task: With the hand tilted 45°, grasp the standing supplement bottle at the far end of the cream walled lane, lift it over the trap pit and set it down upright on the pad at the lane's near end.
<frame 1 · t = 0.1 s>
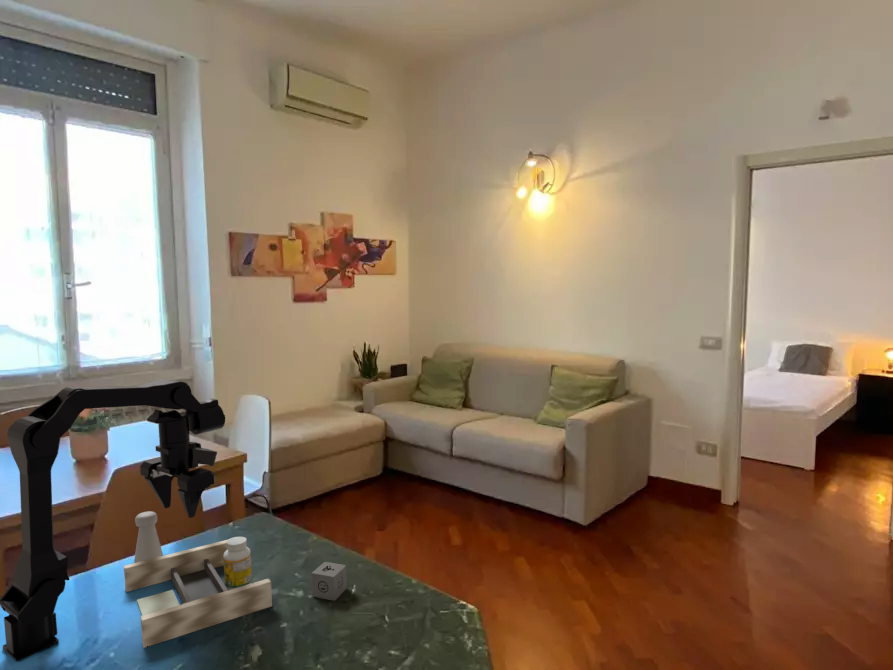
hand: (179, 512, 126), 15 cm above the countertop, tool pointing down, fingers open, 9 cm apart
walled lane: (200, 596, 120), on the countertop
dice cube: (330, 593, 122), on the countertop
supplement bottle: (238, 585, 125), on the countertop
salt shaker: (149, 572, 131), on the countertop
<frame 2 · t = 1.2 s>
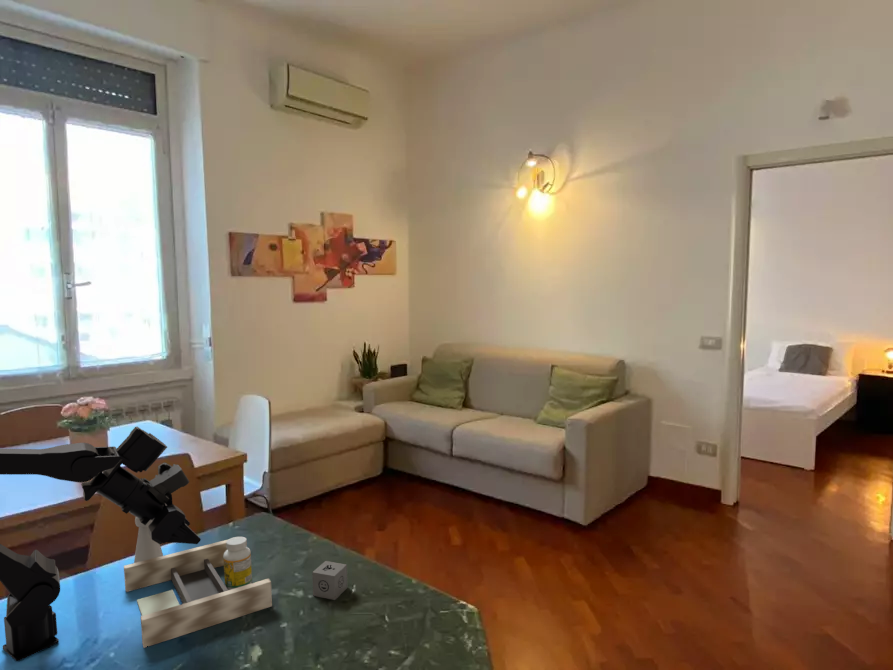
hand: (193, 533, 119), 13 cm above the countertop, tool tilted 45°, fingers open, 9 cm apart
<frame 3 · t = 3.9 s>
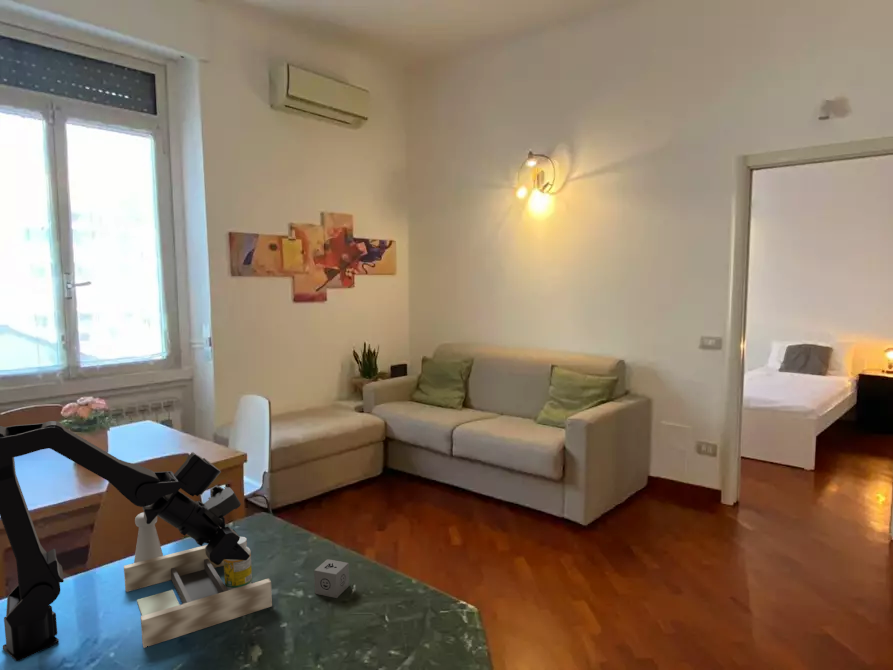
hand: (243, 552, 125), 7 cm above the countertop, tool tilted 45°, fingers closed on supplement bottle, 5 cm apart
supplement bottle: (238, 585, 125), on the countertop, touching gripper
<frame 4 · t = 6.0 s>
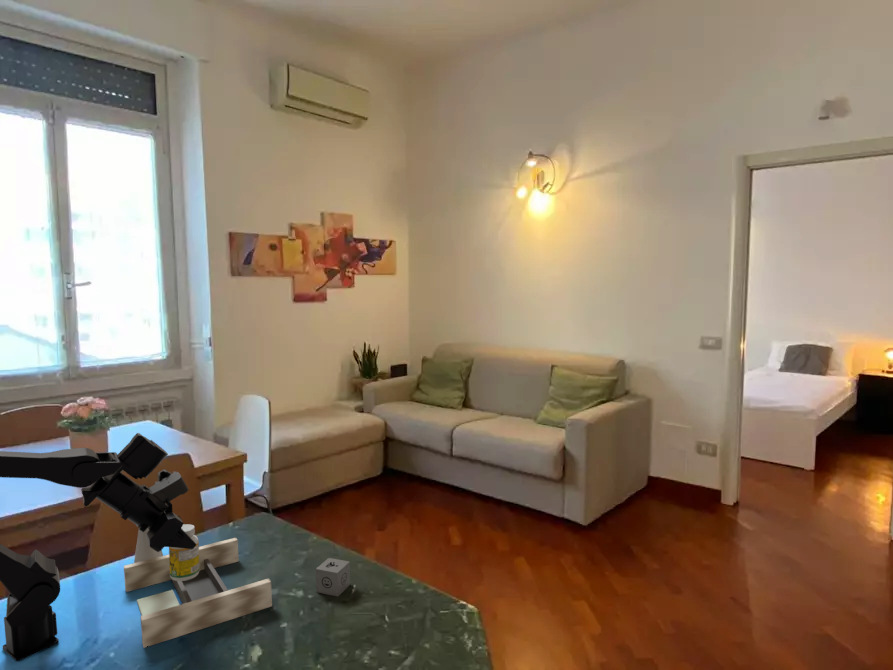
hand: (191, 541, 119), 12 cm above the countertop, tool tilted 45°, fingers closed on supplement bottle, 5 cm apart
supplement bottle: (184, 576, 118), point 5 cm above the countertop, touching gripper
when the fingers open (8 cm above the countertop, at t = 8.0 s): supplement bottle stays where it is, resting on walled lane.
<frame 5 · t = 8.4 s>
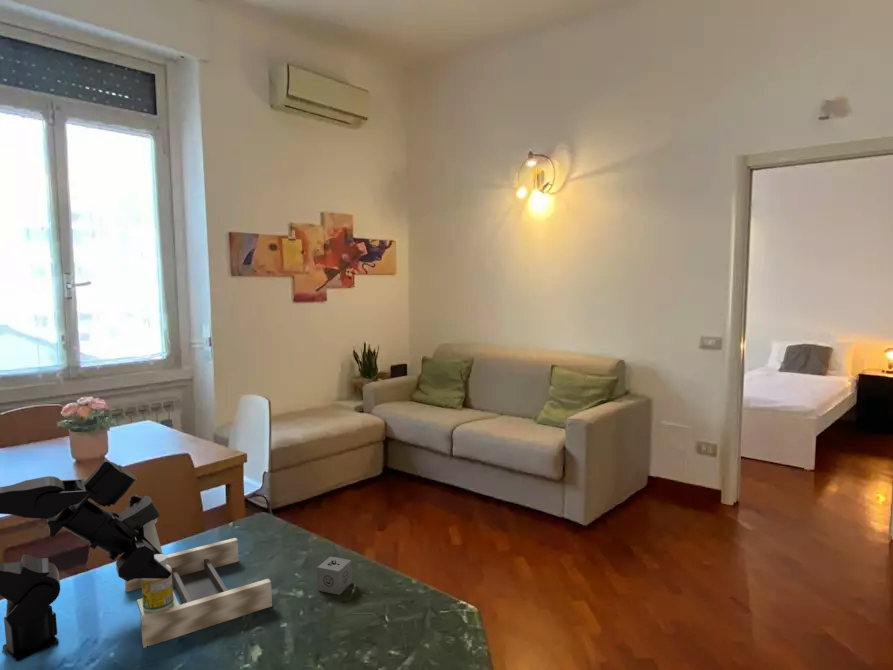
hand: (165, 566, 116), 8 cm above the countertop, tool tilted 45°, fingers open, 9 cm apart
supplement bottle: (158, 607, 116), resting on walled lane
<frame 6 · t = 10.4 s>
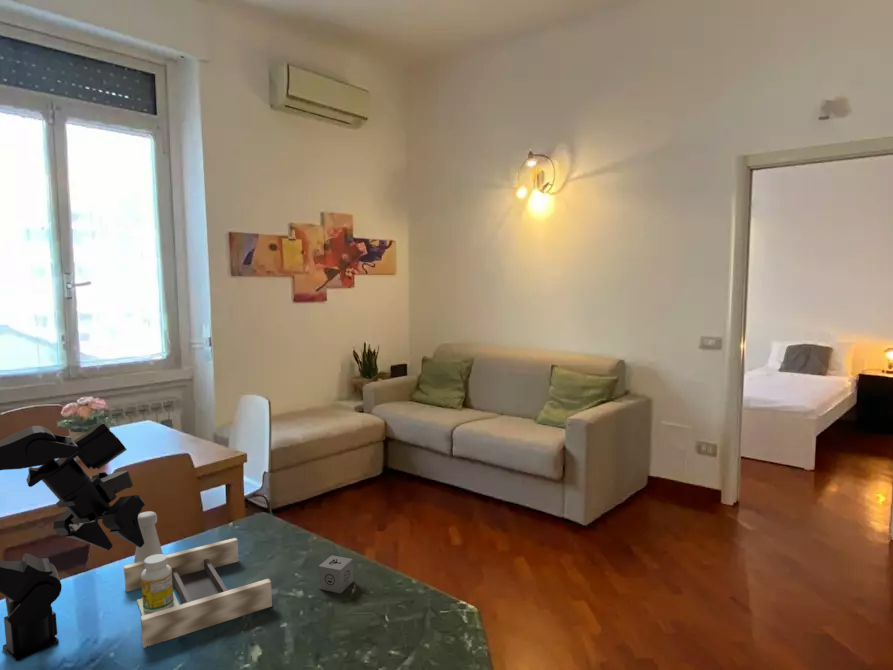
hand: (126, 546, 113), 13 cm above the countertop, tool tilted 30°, fingers open, 9 cm apart
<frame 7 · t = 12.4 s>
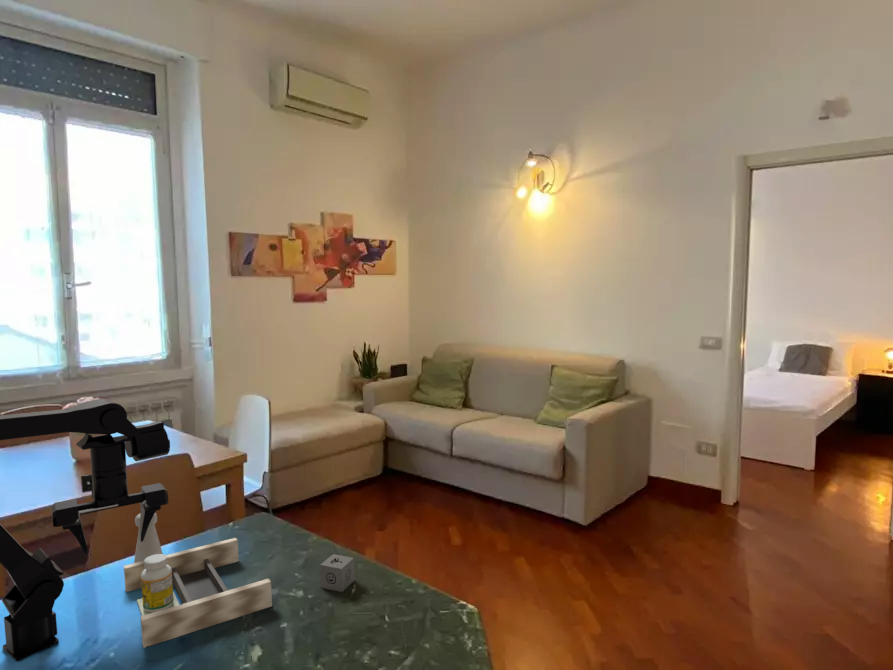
hand: (114, 547, 114), 13 cm above the countertop, tool pointing down, fingers open, 9 cm apart
at the end: supplement bottle 0.2 cm from the target spot, resting on walled lane; supplement bottle tilted 0°; the gripper is holding nothing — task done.
